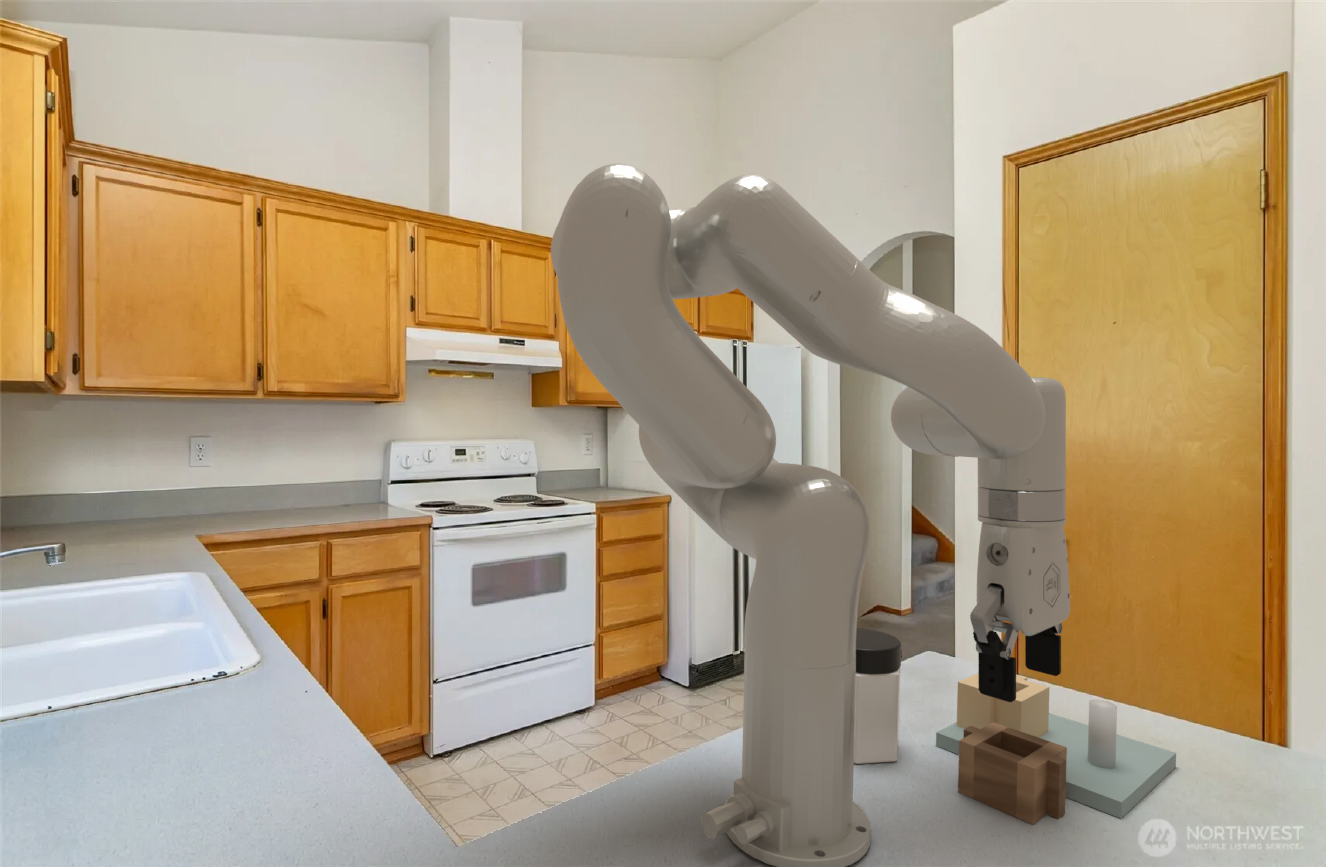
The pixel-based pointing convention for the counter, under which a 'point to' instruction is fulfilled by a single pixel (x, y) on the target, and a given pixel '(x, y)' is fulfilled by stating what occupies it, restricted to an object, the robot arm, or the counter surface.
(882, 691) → the jar
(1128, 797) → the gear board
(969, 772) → the ribbed wooden holder
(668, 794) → the counter surface
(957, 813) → the counter surface
